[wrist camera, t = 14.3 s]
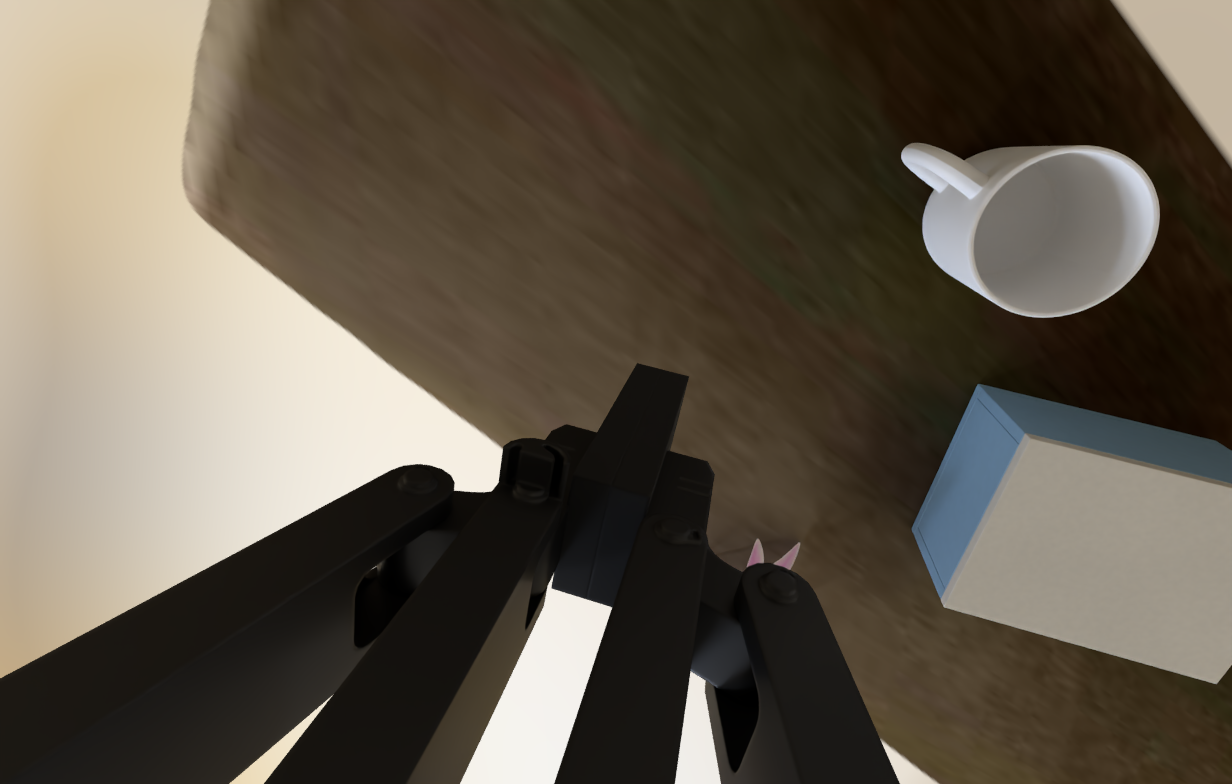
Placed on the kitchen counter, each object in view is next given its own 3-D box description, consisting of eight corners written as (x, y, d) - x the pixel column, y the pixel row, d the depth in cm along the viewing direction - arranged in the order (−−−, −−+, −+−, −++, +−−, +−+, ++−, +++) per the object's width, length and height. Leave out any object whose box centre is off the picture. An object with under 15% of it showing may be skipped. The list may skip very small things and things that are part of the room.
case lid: (1336, 509, 34) (1349, 517, 33) (1208, 674, 39) (1216, 684, 38) (1025, 432, 36) (1030, 438, 35) (940, 599, 41) (943, 607, 40)
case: (1216, 440, 42) (1318, 504, 34) (1121, 585, 47) (1192, 670, 39) (977, 383, 44) (1024, 432, 36) (911, 528, 48) (939, 598, 41)
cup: (993, 304, 41) (1061, 348, 32) (845, 205, 41) (871, 220, 32) (1095, 195, 38) (1204, 208, 29) (935, 85, 38) (993, 64, 29)
